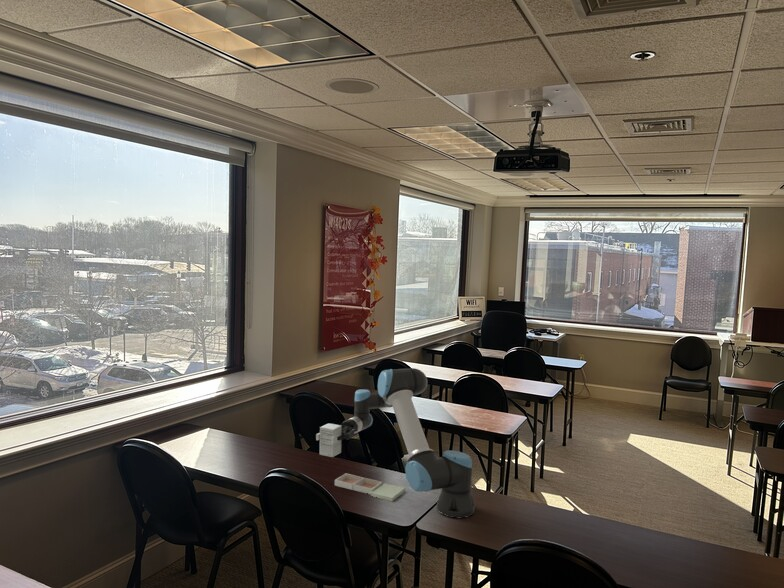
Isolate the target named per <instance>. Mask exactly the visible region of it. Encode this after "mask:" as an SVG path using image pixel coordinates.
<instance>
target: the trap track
mask: <svg viewBox="0 0 784 588" xmlns="http://www.w3.org/2000/svg"><path fill="white" fill-rule="evenodd" d="M334 486H335V487H338V488H341V489H343V488H344V489H347V490H351V491H356V492H358V493H364V494H367V493H368V494H367V495H370V497H372V496H373V498H376V497H377V499H380V500H384V501H385V500H386V501H388V502H393V501H395V500H396V499H397V498H399V497H400V496H401V495H402V494H403V493H405V492H404V491H406V488H405V487H402V486H398V485H394V484H389V483H385V482H384V483H383V481H380V480H376V479H373V478H367V477H362V476H358V475H355V474H350V473H344V474H342V475H340V476H339V477H337V478H335V479H334Z"/></svg>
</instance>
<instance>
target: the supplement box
mask: <svg viewBox="0 0 784 588" xmlns="http://www.w3.org/2000/svg"><path fill="white" fill-rule="evenodd" d="M341 431H342V426H341V424H335V423H326V424H324V425H322V426H319V433H320V440H319V456H320V455H321V456H325V457H330V458H334V457H335V456H337V455H339V454H341V453H342V440H339V441H337V442H335V443H333V444H332V437H333V436H335V435H338V434H341ZM341 435H342V434H341Z"/></svg>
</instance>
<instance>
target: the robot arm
mask: <svg viewBox="0 0 784 588" xmlns="http://www.w3.org/2000/svg"><path fill="white" fill-rule="evenodd" d="M427 388H428V378H427V376H426V373H424V372H423V371H422V370H420V369H418V368H413V367H411V368H410V367H409V368H398V369H392V368H390V369H384V370H382V371H381V372H380V374H379V376H378V379H377V392H373V393H371V391H370V390H369V389H357V390H356V391H355V392H354V410H353V411H354V413H353V415H354V416H353V417H350V418H349V419H345V420H344V421H343V422H342V423H341V424H340V425H341V426H342V431H341V434H338V435H335V436H333V437H332V444H333V443H335V442H337V441H339V440H341V441H344V440H346V441H349V440H350V439H352V438H353V437H354V436H357V435H358V433H359V432H361V431H363V430H366V429H368V428H369V427H371V426H372V425H373V421H374V418H373V415H372V414H371V413H370V412H371V409H373V410H374V409H381V408H382V409H384V408H392V410H393V413H394V414H395V417H396V422H397V424H398V426H399V430H400V432H401V435H402V438H403V441H404V444H405V448H406V450H407V453H408V458H407V459H406V462H407V463H406V465H405V469H404V471H405V478H406V482H407V483H408V485H409V486H410V488H411V489H412V490H413V491H415V492H418V493H423V492H431V491H434V490H435V491H436V490H441V491H440V494H439V497H438V500H437V503H436V510H437V509H438V511H440V512H442V513H443V514H446V515H448V516H453V517H465V516H470V515H472V514H473V513H474V514H475V509H476V508H475V503H474V498H473V495H472V472H473V460H472V457H471V456H470V455H469V454H467V453H465V452H461V451H458V450H445V451H443V452H442V456H440V457H437V454H436V451H435V450H433V449H432V448H430V447H429V443H428V441H427V438H426V435H425V433H424V430H423V427H422V424H421V421H420V419H419V416H418V413H417V411H416V410H417V409H416V408H415V406H414V402H413V400H412V398H413V396H418V395H421V394H422V393H423V392H424V391H425V390H426V389H427ZM315 440H316V441H320V432H318V433H316V434H315ZM438 511H437V512H438ZM474 514H473V515H474ZM473 515H472V516H473ZM470 517H471V516H470Z"/></svg>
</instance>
